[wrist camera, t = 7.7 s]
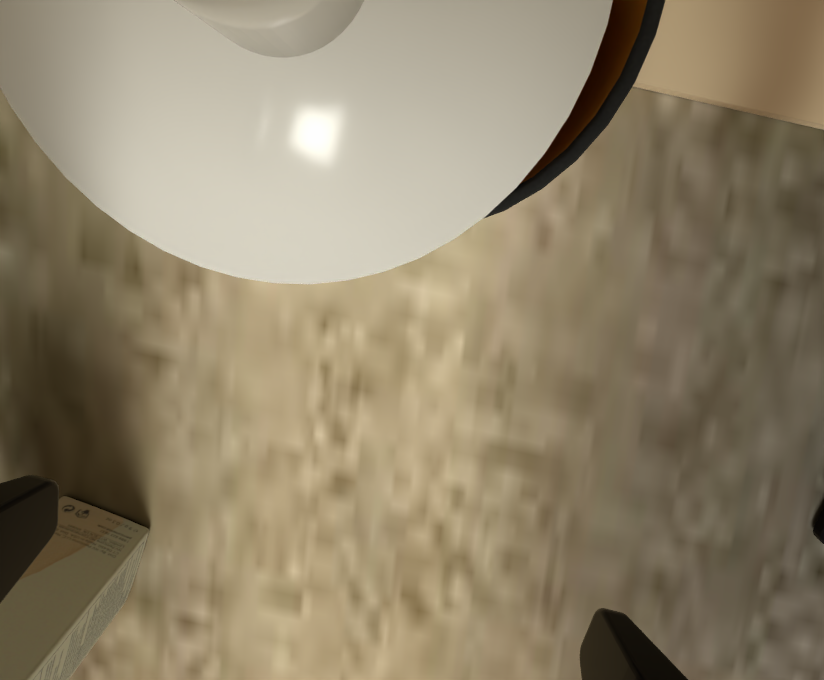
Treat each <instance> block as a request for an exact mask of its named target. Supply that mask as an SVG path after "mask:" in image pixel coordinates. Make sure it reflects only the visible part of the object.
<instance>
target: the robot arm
mask: <svg viewBox="0 0 824 680" xmlns="http://www.w3.org/2000/svg"><path fill="white" fill-rule="evenodd" d="M58 507H59V486H58V484H57V482H56V481H54V480H52V479H48V478H43V477H39V476H34V475H28V476H24V477H21V478H17V479H14V480H10V481H7V482H3V483H0V604H1V602H2V601H3V600H4V598H5V597H6V596H7V595H8V593H9V592H10V591H11V589H12V588H13V587H14V586H15V584H16V583H17V582H18V581H19V579H20V578H21V577H22V575H23V574H24V573H25V572H26V570H27V569H28V568H29V566H30V565H31V564H32V563H33V561H34V560H35V559H36V557H37V556H38V555H39V554H40V552H41V551H42V550H43V549H44V547H45V546H46V545H47V543H48V542H49V541H50V540H51V538H52V537H53V535H54V533H55V531H56V528H57V525H58ZM813 533H814V535H815V536H816V537H817V538H818V539H819V540H820V541H821V542H822V543H823V544H824V509H823V511H822V513H821V515H820V517H819V519H818V521H817V523H816V524H815V526H814V529H813ZM580 667H581V675H582V680H688V679H687V678H686V677H685V676H684V675H683V674H682V673H681V672H680V671H679V670H678V669H677V668H676V667H675V665H674V664H673V663H672V662H671V661H670V660H669V659H668V658H667V657H666V656H665V655H664V654H663V653H662V652H661V651H660V650H659V649H658V648H657V647H656V646H655V645H654V644H653V643H652V641H651V640H650V639H649V638H648V637H647V636H646V635H645V634H644V633H643V632H642V631H641V630H640V629H639V628H638V627H637V626H636V625H635V624H634V623H633V622H632V621H631V620H630V619H629V618H628V617H627V616H626V615H625V614H624V613H621V612H617V611H613V610H609V609H604V608H601V609H598V610H597V611H596V612H595V614H594V616H593V618H592V621H591V623H590V625H589V628H588V630H587V633H586V635H585V637H584V640H583V642H582V645H581V649H580Z"/></svg>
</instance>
